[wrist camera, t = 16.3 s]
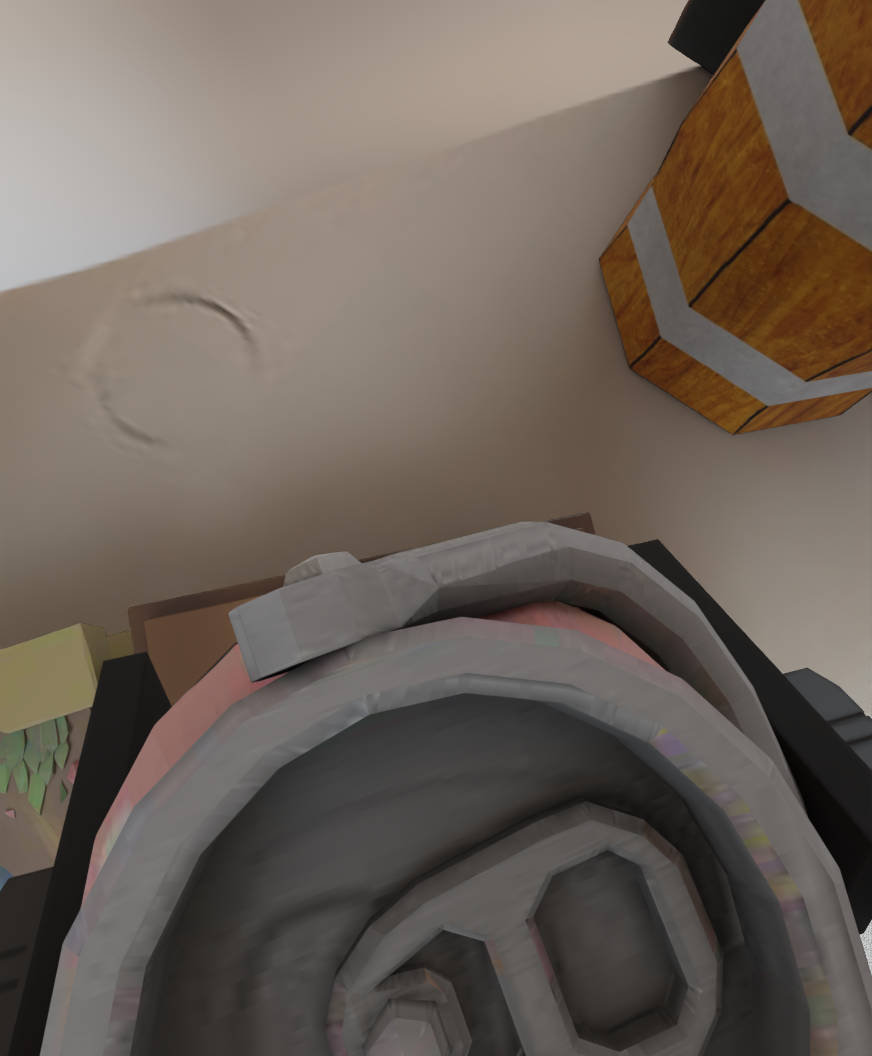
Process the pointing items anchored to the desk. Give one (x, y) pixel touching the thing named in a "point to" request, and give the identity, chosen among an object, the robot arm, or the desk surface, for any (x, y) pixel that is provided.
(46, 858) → the book
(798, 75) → the mug
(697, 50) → the letter holder
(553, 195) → the desk surface
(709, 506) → the desk surface
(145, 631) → the riser
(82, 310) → the desk surface
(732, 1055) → the beverage can
